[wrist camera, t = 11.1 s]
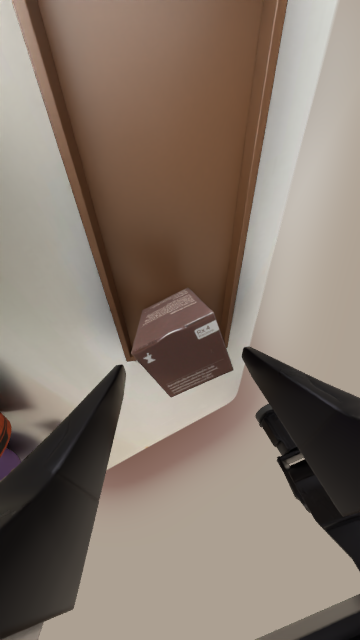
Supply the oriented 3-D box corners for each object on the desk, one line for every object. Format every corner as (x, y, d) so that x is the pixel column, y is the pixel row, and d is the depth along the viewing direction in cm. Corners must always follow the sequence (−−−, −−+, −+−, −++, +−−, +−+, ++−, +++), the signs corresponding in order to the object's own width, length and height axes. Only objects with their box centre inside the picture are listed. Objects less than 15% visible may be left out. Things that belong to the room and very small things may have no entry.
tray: (281, -101, 6) (331, -244, 5) (220, 339, 19) (227, 348, 17) (-29, -199, 5) (-142, -473, 3) (129, 350, 18) (126, 361, 16)
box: (165, 345, 17) (169, 399, 11) (140, 309, 14) (127, 353, 8) (206, 326, 17) (235, 371, 10) (189, 285, 14) (215, 312, 8)
